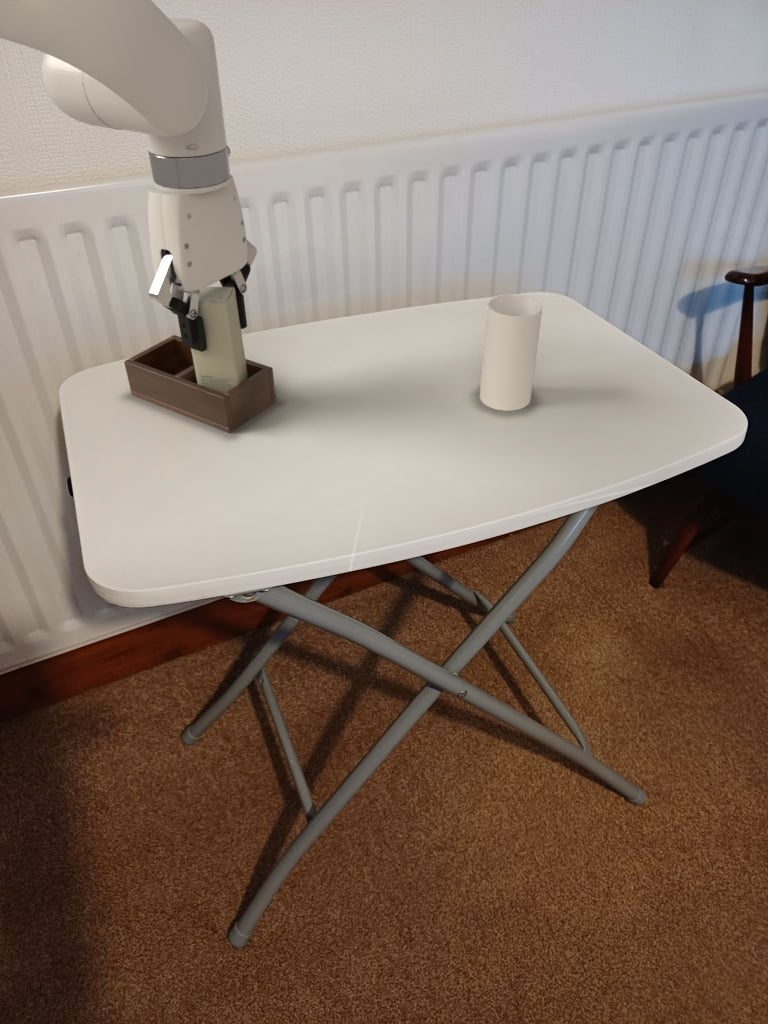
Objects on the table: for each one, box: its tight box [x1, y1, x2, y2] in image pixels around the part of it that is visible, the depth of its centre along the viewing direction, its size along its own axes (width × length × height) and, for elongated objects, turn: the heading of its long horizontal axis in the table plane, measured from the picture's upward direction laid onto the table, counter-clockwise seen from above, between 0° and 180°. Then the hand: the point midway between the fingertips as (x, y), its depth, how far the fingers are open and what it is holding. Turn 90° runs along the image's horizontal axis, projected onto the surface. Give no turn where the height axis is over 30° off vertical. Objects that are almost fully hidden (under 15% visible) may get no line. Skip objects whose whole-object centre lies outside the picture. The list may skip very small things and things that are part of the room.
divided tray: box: [123, 334, 277, 434], centre depth 94 cm, size 8×16×5 cm, turn 57°
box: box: [183, 286, 248, 394], centre depth 89 cm, size 5×4×13 cm
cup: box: [479, 293, 543, 412], centre depth 92 cm, size 6×6×12 cm
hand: (215, 335), depth 88 cm, fingers closed on box, 5 cm apart
